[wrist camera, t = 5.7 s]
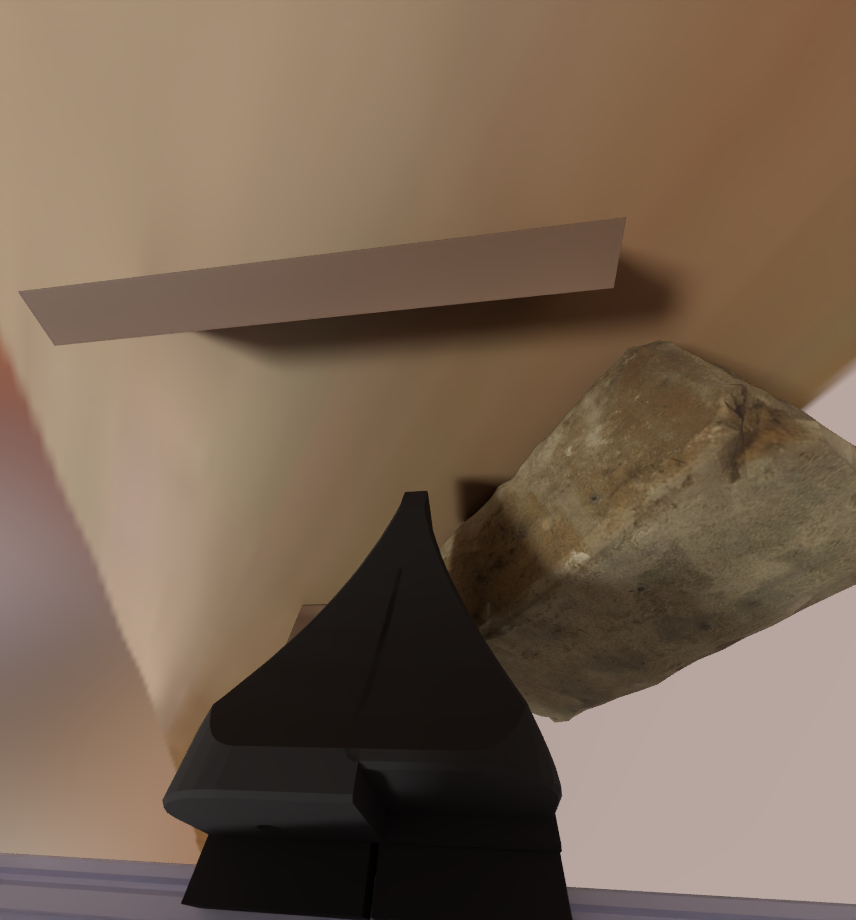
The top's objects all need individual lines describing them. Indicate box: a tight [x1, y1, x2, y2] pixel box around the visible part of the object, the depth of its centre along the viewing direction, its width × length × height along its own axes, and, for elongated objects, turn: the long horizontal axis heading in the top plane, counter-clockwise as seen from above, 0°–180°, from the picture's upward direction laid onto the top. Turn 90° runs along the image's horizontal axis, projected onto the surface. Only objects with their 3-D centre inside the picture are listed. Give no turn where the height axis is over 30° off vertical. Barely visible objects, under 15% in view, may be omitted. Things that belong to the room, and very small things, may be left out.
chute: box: [18, 217, 626, 644], centre depth 11 cm, size 15×11×3 cm
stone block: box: [440, 341, 856, 722], centre depth 10 cm, size 6×12×5 cm, turn 149°
